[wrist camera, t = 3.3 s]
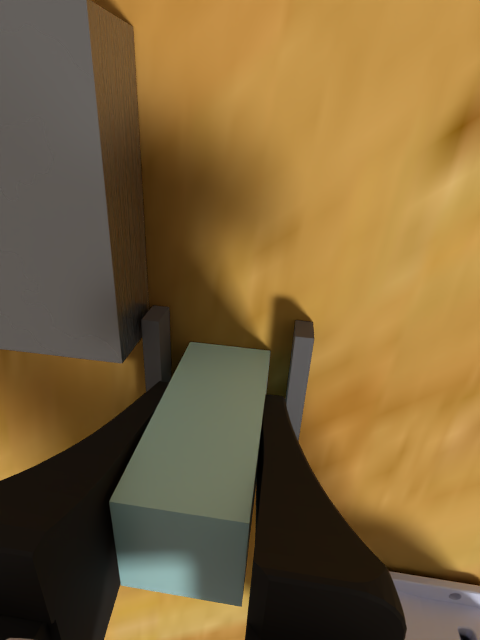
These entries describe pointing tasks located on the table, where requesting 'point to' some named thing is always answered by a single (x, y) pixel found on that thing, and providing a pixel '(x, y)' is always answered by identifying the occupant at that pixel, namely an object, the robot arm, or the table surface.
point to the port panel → (70, 182)
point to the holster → (160, 358)
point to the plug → (195, 479)
